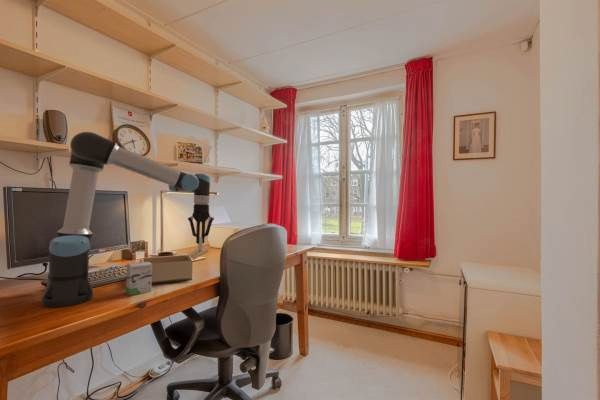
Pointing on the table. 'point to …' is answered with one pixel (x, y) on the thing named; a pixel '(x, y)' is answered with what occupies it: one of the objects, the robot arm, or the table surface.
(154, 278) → the carton
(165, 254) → the mug
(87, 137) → the robot arm
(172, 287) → the table surface
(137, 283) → the ink box
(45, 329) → the table surface
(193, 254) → the flap
